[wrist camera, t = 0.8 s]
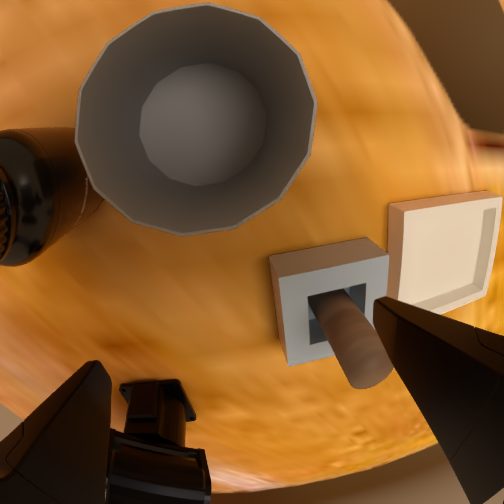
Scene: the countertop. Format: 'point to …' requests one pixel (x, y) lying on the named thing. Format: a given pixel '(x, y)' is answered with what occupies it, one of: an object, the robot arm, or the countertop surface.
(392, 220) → the tray
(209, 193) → the cup
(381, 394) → the countertop surface
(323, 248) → the grey square peg base
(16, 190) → the supplement bottle
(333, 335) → the dowel
